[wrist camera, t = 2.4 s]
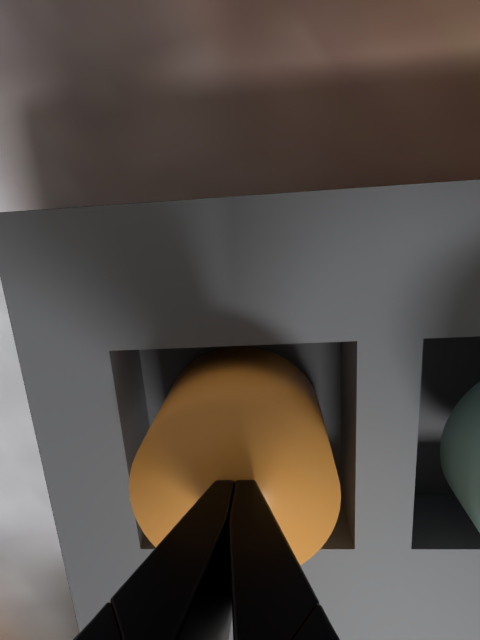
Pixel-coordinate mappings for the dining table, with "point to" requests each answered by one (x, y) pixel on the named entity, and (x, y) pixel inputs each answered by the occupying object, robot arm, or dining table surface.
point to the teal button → (464, 453)
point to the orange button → (239, 446)
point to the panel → (280, 338)
